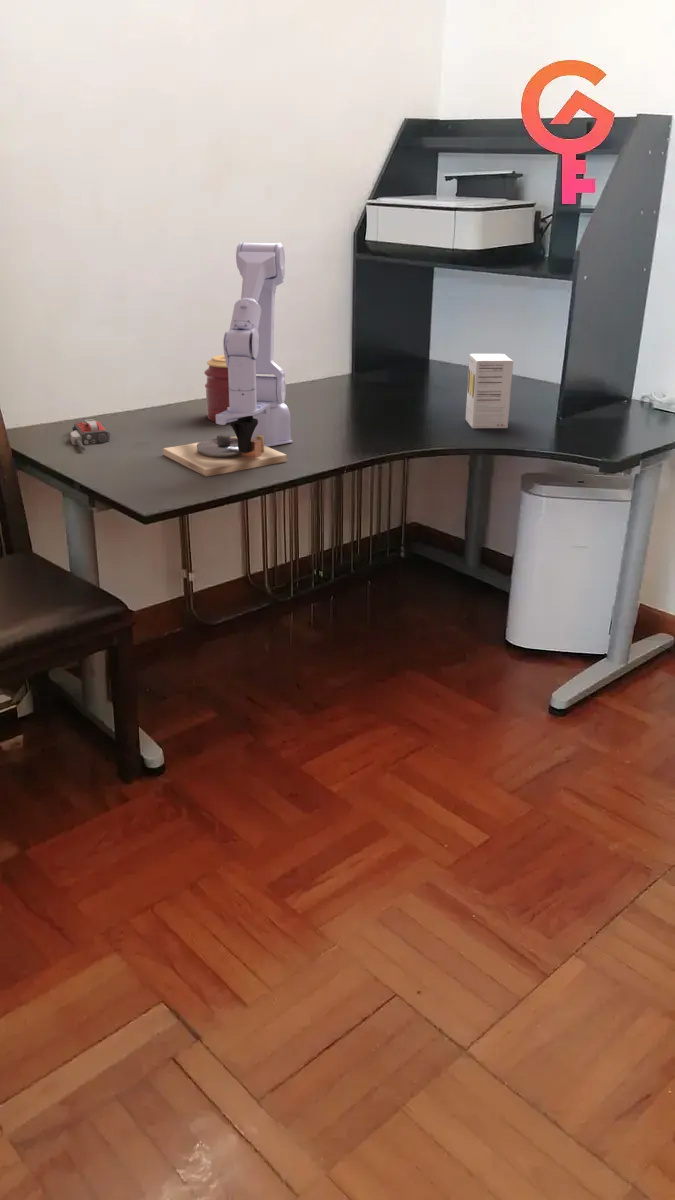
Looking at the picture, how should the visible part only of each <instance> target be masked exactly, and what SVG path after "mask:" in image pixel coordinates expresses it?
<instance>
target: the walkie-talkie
mask: <svg viewBox="0 0 675 1200" xmlns="http://www.w3.org/2000/svg"><path fill="white" fill-rule="evenodd" d="M69 435H70V441H71V444H72V446H74V445H75V446H76V445H77V446H78V448H79V449H80V450H82V451H85V450H86V447H85V446H84V445H89V444H90V445H92V444H96V443H97V444H102V443H108V442H109V443H110V442H111V434H110V432H109V430H108V429H107V428H106V426H104V424H103V423H102V422H101V421H100V420H97V419H95V420H94V419H93V418H92V419H84V420H83V421H77V422H76V423H74V424H73V427H72V431H71V432H70V433H69Z"/></svg>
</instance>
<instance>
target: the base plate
mask: <svg viewBox="0 0 675 1200" xmlns="http://www.w3.org/2000/svg"><path fill="white" fill-rule="evenodd" d="M216 438H217V444H218V445H230V444H231V438H237V436H236V435H235V436H231V435H230V434H227V433H226V434H225V433H223V434H222V433H221V434H218V435H216ZM256 439H258V440H261V456H260V457H257V458H253V457H248V456H244V455H238V456H230V457H213V456H206V455H202V454H200V453H198V452H197V444H198V443H200V442H201V441H200V442H193V443H188V444H182V445H176V446H170V447H163V448H162V451H163V455H164V456H165V457H167V458H169V459H171V460H173V461H175V462H177V463H179V464H180V465H183V466H184V467H187V468H188V469H190V470H192V471H195V472H196V473H198V474H201V475H202V476H204V477H205V478H206V477H211V476H217V475H222V474H227V473H232V472H238V471H244V470H247V469H248V470H249V469H255V468H258V467H259V468H260V467H264V466H265V467H266V466H269V465H274V464H280V463H285V462H288V460H287V459H288V458H287V457H288V455H287V454H286V453H284V452H280V451H278V450H276V449H274V448H271V447H270V446H269V447H267V446H265V445H264V436H262V435H258V436H256Z"/></svg>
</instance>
